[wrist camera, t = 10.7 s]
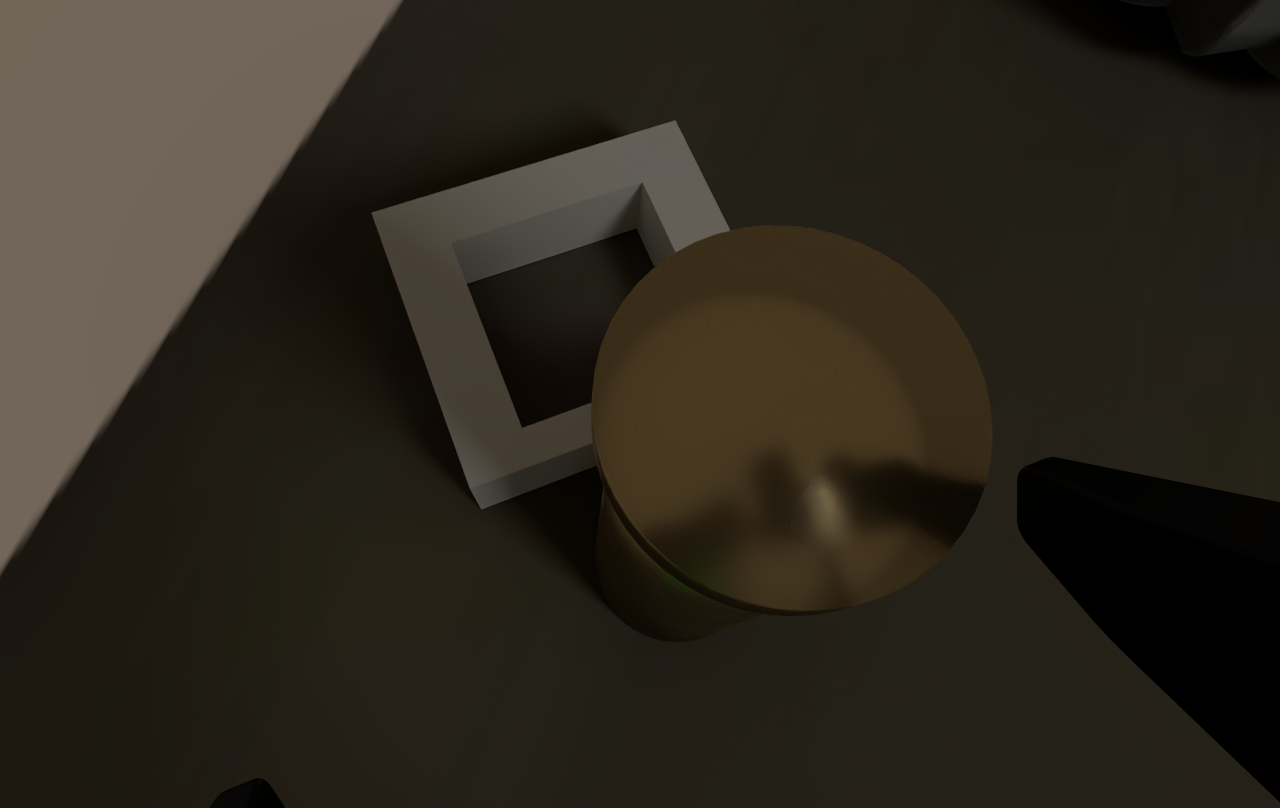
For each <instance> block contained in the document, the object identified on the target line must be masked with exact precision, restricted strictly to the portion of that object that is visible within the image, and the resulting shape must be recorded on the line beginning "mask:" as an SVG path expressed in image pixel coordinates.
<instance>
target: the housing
mask: <svg viewBox="0 0 1280 808" xmlns="http://www.w3.org/2000/svg"><path fill="white" fill-rule="evenodd" d="M372 216H373V219H374V221H375V224H376V227H377V230H378V233H379V235H380V238H381V241H382V244H383V247H384V249H385V252H386V255H387V258H388V261H389V263H390V266H391V269H392V272H393V275H394V277H395V280H396V283H397V286H398V289H399V291H400V294H401V297H402V300H403V303H404V305H405V308H406V311H407V314H408V317H409V319H410V322H411V325H412V328H413V331H414V333H415V336H416V339H417V342H418V345H419V347H420V350H421V353H422V356H423V359H424V362H425V364H426V367H427V370H428V373H429V376H430V378H431V381H432V384H433V387H434V390H435V392H436V395H437V398H438V401H439V404H440V406H441V409H442V412H443V415H444V418H445V420H446V423H447V426H448V429H449V432H450V434H451V437H452V440H453V443H454V446H455V448H456V451H457V454H458V457H459V460H460V462H461V465H462V468H463V471H464V474H465V476H466V479H467V482H468V485H469V488H470V490H471V492H472V494H473V495H474V497H475V499H476V501H477V503H478V504H479V506H480V508H481V509H484V508H487V507H489V506H492V505H494V504H497V503H500V502H502V501H505V500H508V499H510V498H513V497H515V496H518V495H521V494H523V493H526V492H529V491H531V490H534V489H537V488H539V487H542V486H544V485H547V484H550V483H552V482H555V481H558V480H560V479H563V478H565V477H568V476H571V475H573V474H576V473H579V472H581V471H584V470H586V469H589V468H592V467H594V466H597V465H596V462H595V456H594V449H593V443H592V433H591V406H592V403H589V404H587V405H584V406H581V407H578V408H576V409H573V410H570V411H568V412H565V413H562V414H559V415H557V416H554V417H551V418H548V419H546V420H543V421H540V422H537V423H535V424H532V425H529V426H526V427H524V428H522V427H521V424H520V421H519V419H518V416H517V414H516V411H515V408H514V406H513V403H512V401H511V398H510V395H509V393H508V390H507V388H506V385H505V382H504V380H503V377H502V375H501V372H500V369H499V367H498V364H497V362H496V359H495V356H494V354H493V351H492V349H491V346H490V343H489V341H488V338H487V336H486V333H485V330H484V328H483V325H482V323H481V320H480V317H479V315H478V312H477V310H476V307H475V304H474V302H473V299H472V297H471V294H470V291H469V289H468V286H467V284H468V283H471V282H474V281H477V280H480V279H483V278H486V277H490V276H493V275H496V274H499V273H502V272H505V271H508V270H511V269H514V268H517V267H520V266H523V265H526V264H529V263H532V262H535V261H538V260H542V259H545V258H548V257H551V256H554V255H557V254H560V253H563V252H566V251H569V250H572V249H575V248H578V247H581V246H584V245H587V244H590V243H594V242H597V241H600V240H603V239H606V238H609V237H612V236H615V235H618V234H621V233H624V232H627V231H630V230H633V229H636V228H637V230H638V233H639V235H640V237H641V239H642V241H643V243H644V246H645V248H646V250H647V252H648V254H649V256H650V259H651V261H652V263H653V265H654V267H655V266H657V265H658V264H660V263H661V262H662V261H664V260H665V259H667V258H668V257H669V256H671V255H672V254H674V253H675V252H677V251H679V250H681V249H683V248H685V247H687V246H689V245H690V244H692V243H694V242H697V241H699V240H702V239H704V238H707V237H710V236H712V235H715V234H718V233H722V232H726V231H730V229H729V227H728V225H727V223H726V221H725V219H724V217H723V215H722V213H721V211H720V209H719V207H718V205H717V203H716V201H715V199H714V197H713V195H712V193H711V191H710V189H709V187H708V185H707V183H706V181H705V179H704V177H703V175H702V173H701V171H700V169H699V167H698V165H697V163H696V161H695V159H694V157H693V155H692V153H691V151H690V149H689V147H688V145H687V143H686V141H685V139H684V137H683V135H682V133H681V131H680V129H679V127H678V125H677V123H676V121H672V122H669V123H665V124H662V125H659V126H656V127H652V128H649V129H646V130H642V131H639V132H636V133H632V134H629V135H626V136H623V137H619V138H616V139H613V140H609V141H606V142H603V143H600V144H596V145H593V146H590V147H586V148H583V149H580V150H576V151H573V152H570V153H567V154H563V155H560V156H557V157H553V158H550V159H547V160H543V161H540V162H537V163H534V164H530V165H527V166H524V167H520V168H517V169H514V170H511V171H507V172H504V173H501V174H497V175H494V176H491V177H487V178H484V179H481V180H478V181H474V182H471V183H468V184H464V185H461V186H458V187H455V188H451V189H448V190H445V191H441V192H438V193H435V194H431V195H428V196H425V197H422V198H418V199H415V200H412V201H408V202H405V203H402V204H399V205H395V206H392V207H389V208H385V209H382V210H379V211H375V212H372Z"/></svg>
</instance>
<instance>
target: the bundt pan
mask: <svg viewBox="0 0 1280 808" xmlns="http://www.w3.org/2000/svg"><path fill="white" fill-rule="evenodd" d="M1120 1H1123V2H1126V3H1130V4H1134V5H1140V6H1148V7H1165V8H1166V11H1167V13H1168V16H1169V19H1170V22H1171V24H1172V27H1173V30H1174V33H1175V35H1176V38H1177V40H1178V43H1179V45H1180V48H1181V51H1182V52H1183V53H1185V54H1186V55H1188V56H1191V57H1195V56H1203V55H1210V54H1217V53H1223V52H1230V51H1237V50H1243V49H1246V50H1247V51H1248V53H1249V54H1250V55H1251V56H1252V58H1253V59H1254V60H1255V61H1256V62H1257V63H1258V64H1259V65H1260V66H1261V67H1262V68H1264V69H1265V70H1267V71H1268V72H1269V73H1271V74H1272V75H1274V76H1276V77H1277V78H1279V79H1280V0H1120Z"/></svg>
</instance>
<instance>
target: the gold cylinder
mask: <svg viewBox="0 0 1280 808" xmlns="http://www.w3.org/2000/svg"><path fill="white" fill-rule="evenodd" d="M591 433H592V443H593V449H594V456H595V462H596V465H597V468H598V472H599V475H600V478H601V482H602V485H603V494H602V501H601V508H600V516H599V523H598V530H597V538H596V545H595V554H594V558H595V571H596V577H597V580H598V584H599V587H600V589H601V592H602V594H603V596H604V598H605V600H606V601H607V603H608V605H609V606H610V608H611V609H612V610H613V611H614V613H615V614H616V615H617V616H618V617H619V618H620V619H621V620H622V621H623V622H624V623H626V624H627V625H628V626H630V627H631V628H632V629H634V630H636V631H637V632H639V633H641V634H643V635H646V636H648V637H651V638H654V639H658V640H662V641H670V642H686V641H691V640H697V639H700V638H703V637H706V636H708V635H711V634H714V633H716V632H719V631H721V630H724V629H726V628H729V627H732V626H734V625H737V624H739V623H742V622H744V621H747V620H749V619H752V618H755V617H757V616H760V615H762V614H769V615H779V616H806V615H816V614H822V613H828V612H833V611H838V610H842V609H845V608H849V607H852V606H855V605H859V604H862V603H865V602H868V601H871V600H874V599H877V598H880V597H883V596H885V595H887V594H889V593H891V592H893V591H895V590H897V589H899V588H901V587H903V586H905V585H907V584H909V583H910V582H912V581H913V580H915V579H916V578H918V577H919V576H920V575H922V574H923V573H925V572H926V571H928V570H929V569H930V568H931V567H932V566H933V565H934V564H935V563H936V562H938V561H939V560H940V559H941V558H942V557H943V556H944V555H945V554H946V553H947V552H948V551H949V550H950V548H951V547H952V546H953V545H954V543H955V542H956V541H957V539H958V538H959V537H960V536H961V534H962V533H963V532H964V530H965V528H966V527H967V525H968V523H969V521H970V519H971V518H972V516H973V514H974V512H975V511H976V508H977V506H978V503H979V501H980V498H981V496H982V493H983V490H984V488H985V484H986V480H987V476H988V471H989V467H990V462H991V451H992V439H993V433H992V414H991V407H990V402H989V397H988V391H987V387H986V383H985V380H984V377H983V374H982V371H981V368H980V365H979V362H978V360H977V358H976V356H975V354H974V352H973V349H972V347H971V345H970V343H969V341H968V339H967V338H966V336H965V334H964V333H963V331H962V329H961V328H960V326H959V325H958V323H957V321H956V320H955V318H954V317H953V316H952V315H951V313H950V312H949V311H948V310H947V308H946V307H945V306H944V305H943V303H942V302H941V301H940V300H939V299H938V298H937V297H936V296H935V295H934V294H933V293H932V292H931V291H930V290H929V289H928V288H927V287H926V286H925V285H924V284H923V283H922V282H921V281H920V280H919V279H918V278H916V277H915V276H914V275H913V274H911V273H910V272H909V271H908V270H906V269H905V268H904V267H903V266H901V265H899V264H898V263H896V262H895V261H893V260H891V259H890V258H888V257H887V256H885V255H884V254H882V253H880V252H878V251H876V250H874V249H872V248H870V247H868V246H866V245H864V244H862V243H860V242H857V241H854V240H851V239H849V238H846V237H843V236H840V235H837V234H834V233H830V232H825V231H821V230H817V229H813V228H805V227H796V226H780V225H764V226H755V227H746V228H739V229H735V230H731V231H726V232H722V233H718V234H715V235H712V236H710V237H707V238H704V239H702V240H699V241H697V242H694V243H692V244H690V245H689V246H687V247H685V248H683V249H681V250H679V251H677V252H675V253H674V254H672V255H671V256H669V257H668V258H667V259H665V260H664V261H662V262H661V263H660V264H658V265H657V266H655V267H654V268H653V269H652V270H651V271H650V272H649V273H648V274H647V275H646V276H645V277H644V278H643V279H642V280H640V281H639V282H638V283H637V285H636V286H635V287H634V288H633V290H632V291H631V292H630V293H629V295H628V296H627V297H626V298H625V300H624V301H623V302H622V304H621V306H620V307H619V309H618V311H617V312H616V314H615V316H614V317H613V319H612V321H611V322H610V325H609V327H608V330H607V332H606V334H605V337H604V339H603V342H602V344H601V348H600V351H599V355H598V359H597V363H596V367H595V373H594V382H593V390H592V406H591Z"/></svg>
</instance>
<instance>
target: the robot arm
mask: <svg viewBox="0 0 1280 808" xmlns="http://www.w3.org/2000/svg"><path fill="white" fill-rule="evenodd" d="M1017 524H1018V528H1019V531H1020V533H1021V535H1022V537H1023V539H1024V540H1025V542H1026V543H1027V544H1028V545H1029V547H1030V548H1031V549H1032V550H1033V551H1034V552H1035V553H1036V555H1037V556H1038V557H1039V558H1040V559H1041V560H1042V562H1043V563H1044V564H1045V565H1046V566H1047V567H1048V569H1049V570H1050V571H1051V572H1052V573H1053V574H1054V576H1055V577H1056V578H1057V579H1058V580H1059V581H1060V583H1061V584H1062V585H1063V586H1064V587H1065V588H1066V590H1067V591H1068V592H1069V593H1070V594H1071V595H1072V597H1073V598H1074V599H1075V600H1076V601H1077V602H1078V604H1079V605H1080V606H1081V607H1082V608H1083V609H1084V611H1085V612H1086V613H1087V614H1088V615H1089V616H1090V617H1091V619H1092V620H1093V621H1094V622H1095V623H1096V624H1097V625H1098V626H1099V628H1100V629H1101V630H1102V631H1103V632H1104V633H1105V634H1106V635H1107V636H1108V637H1109V638H1110V639H1111V640H1112V641H1113V642H1114V643H1115V644H1116V645H1117V646H1118V648H1119V649H1120V650H1121V651H1122V652H1123V653H1124V654H1125V655H1127V656H1128V657H1129V658H1130V659H1131V660H1132V661H1133V662H1134V663H1135V664H1136V665H1137V666H1138V667H1139V668H1140V669H1141V670H1142V671H1143V672H1144V673H1145V674H1146V675H1147V676H1148V677H1150V678H1151V679H1152V680H1153V681H1154V682H1155V683H1156V684H1157V685H1158V686H1159V687H1160V688H1161V689H1162V690H1163V691H1164V692H1165V693H1166V694H1167V695H1168V696H1169V697H1170V698H1171V699H1172V700H1174V701H1175V702H1176V703H1177V704H1178V705H1179V706H1180V707H1181V708H1182V709H1183V710H1184V711H1185V712H1186V713H1187V714H1188V715H1189V716H1190V717H1191V718H1192V719H1193V720H1194V721H1195V722H1196V723H1198V724H1199V725H1200V726H1201V727H1202V728H1203V729H1204V730H1205V731H1206V732H1207V733H1208V734H1209V735H1210V736H1211V737H1212V738H1213V739H1214V740H1215V741H1216V742H1217V743H1218V744H1219V745H1220V746H1222V747H1223V748H1224V749H1225V750H1226V751H1227V752H1228V753H1229V754H1230V755H1231V756H1232V757H1233V758H1234V759H1235V760H1236V761H1237V762H1238V763H1239V764H1240V765H1241V766H1242V767H1243V768H1244V769H1246V770H1247V771H1248V772H1249V773H1250V774H1251V775H1252V776H1253V777H1254V778H1255V779H1256V780H1257V781H1258V782H1259V783H1260V784H1261V785H1262V786H1263V787H1264V788H1265V789H1266V790H1267V791H1268V792H1270V793H1271V794H1272V795H1273V796H1274V797H1275V798H1276V799H1277V800H1278V801H1279V802H1280V502H1276V501H1271V500H1266V499H1261V498H1256V497H1251V496H1246V495H1241V494H1236V493H1231V492H1226V491H1221V490H1216V489H1211V488H1206V487H1201V486H1196V485H1191V484H1186V483H1181V482H1176V481H1171V480H1166V479H1161V478H1156V477H1151V476H1146V475H1141V474H1136V473H1131V472H1126V471H1121V470H1116V469H1111V468H1107V467H1102V466H1097V465H1092V464H1087V463H1082V462H1077V461H1072V460H1067V459H1062V458H1056V457H1049V458H1045V459H1043V460H1040V461H1038V462H1035V463H1033V464H1030V465H1028V466H1025V467H1024V468H1022V469H1021V470H1020V472H1019V474H1018V478H1017ZM210 808H285V807H284V805H283V804H282V802H281V801H280V799H279V798H278V796H277V795H276V793H275V791H274V790H273V788H272V787H271V785H270V784H269V783H268V782H267V781H265V780H264V779H261V778H257V779H253V780H250V781H248V782H246V783H243V784H241V785H238V786H236V787H233V788H231V789H228V790H226V791H224V792H223V793H221V794H220V795H219V796H218V797H217V798H216V799H215V801H214V802H213V804H212V805H211V807H210Z"/></svg>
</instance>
